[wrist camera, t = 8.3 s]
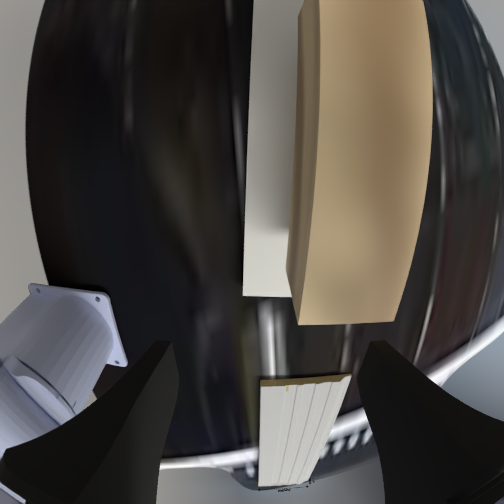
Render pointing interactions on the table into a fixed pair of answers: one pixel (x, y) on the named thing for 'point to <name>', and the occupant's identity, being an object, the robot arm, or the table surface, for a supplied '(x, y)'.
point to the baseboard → (296, 425)
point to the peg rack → (270, 146)
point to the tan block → (358, 157)
